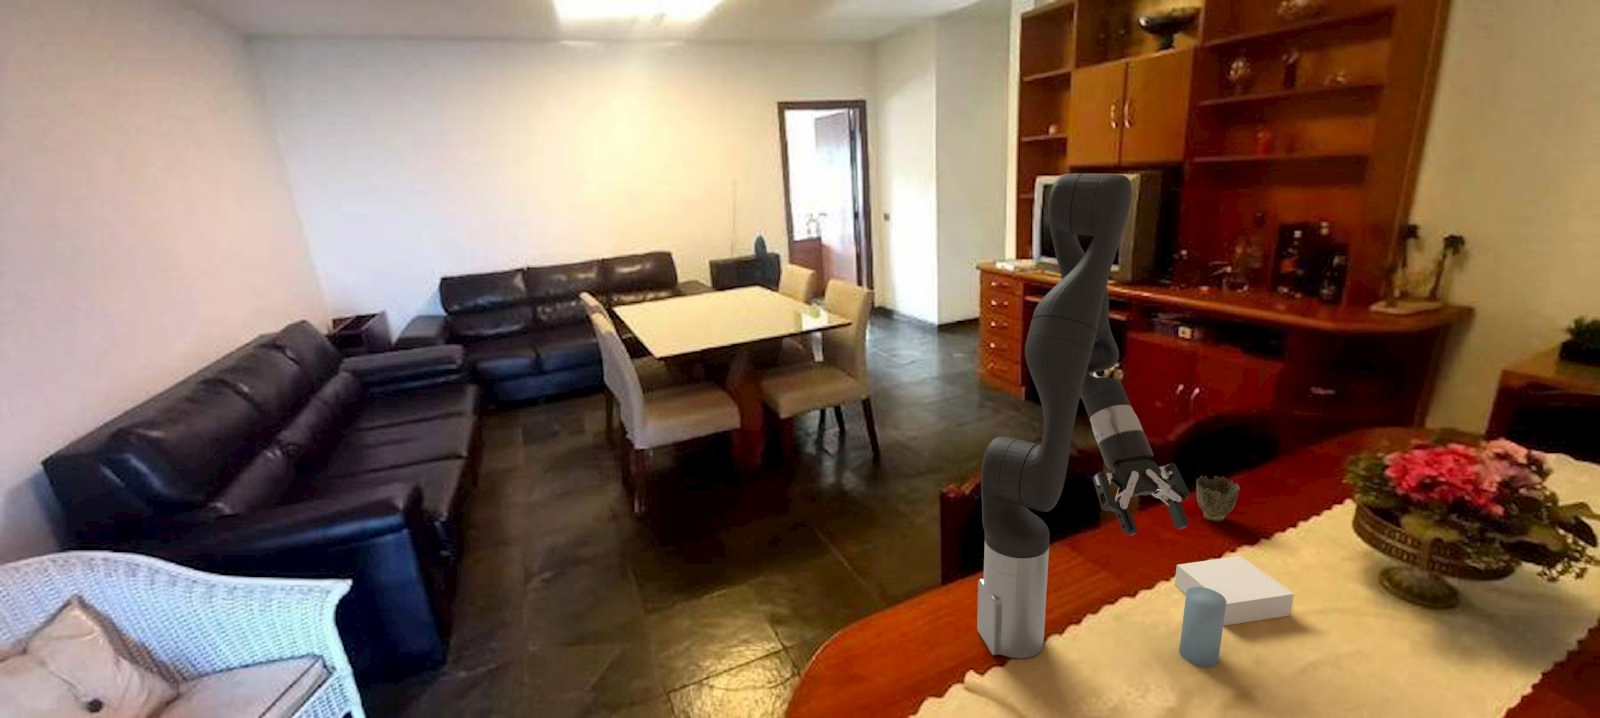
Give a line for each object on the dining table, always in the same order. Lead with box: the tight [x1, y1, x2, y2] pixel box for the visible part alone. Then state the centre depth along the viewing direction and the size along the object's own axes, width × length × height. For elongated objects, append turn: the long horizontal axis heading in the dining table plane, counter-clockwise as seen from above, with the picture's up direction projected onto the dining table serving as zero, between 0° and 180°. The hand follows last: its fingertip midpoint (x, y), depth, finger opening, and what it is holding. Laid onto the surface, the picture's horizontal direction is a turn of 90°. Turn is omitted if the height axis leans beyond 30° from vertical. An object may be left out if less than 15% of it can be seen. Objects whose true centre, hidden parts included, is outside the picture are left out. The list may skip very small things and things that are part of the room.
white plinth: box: [1174, 555, 1295, 627], centre depth 110 cm, size 12×11×4 cm
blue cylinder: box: [1178, 587, 1226, 668], centre depth 98 cm, size 5×5×10 cm
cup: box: [1195, 475, 1241, 523], centre depth 134 cm, size 8×7×8 cm
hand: (1158, 531), depth 106 cm, fingers open, 8 cm apart
